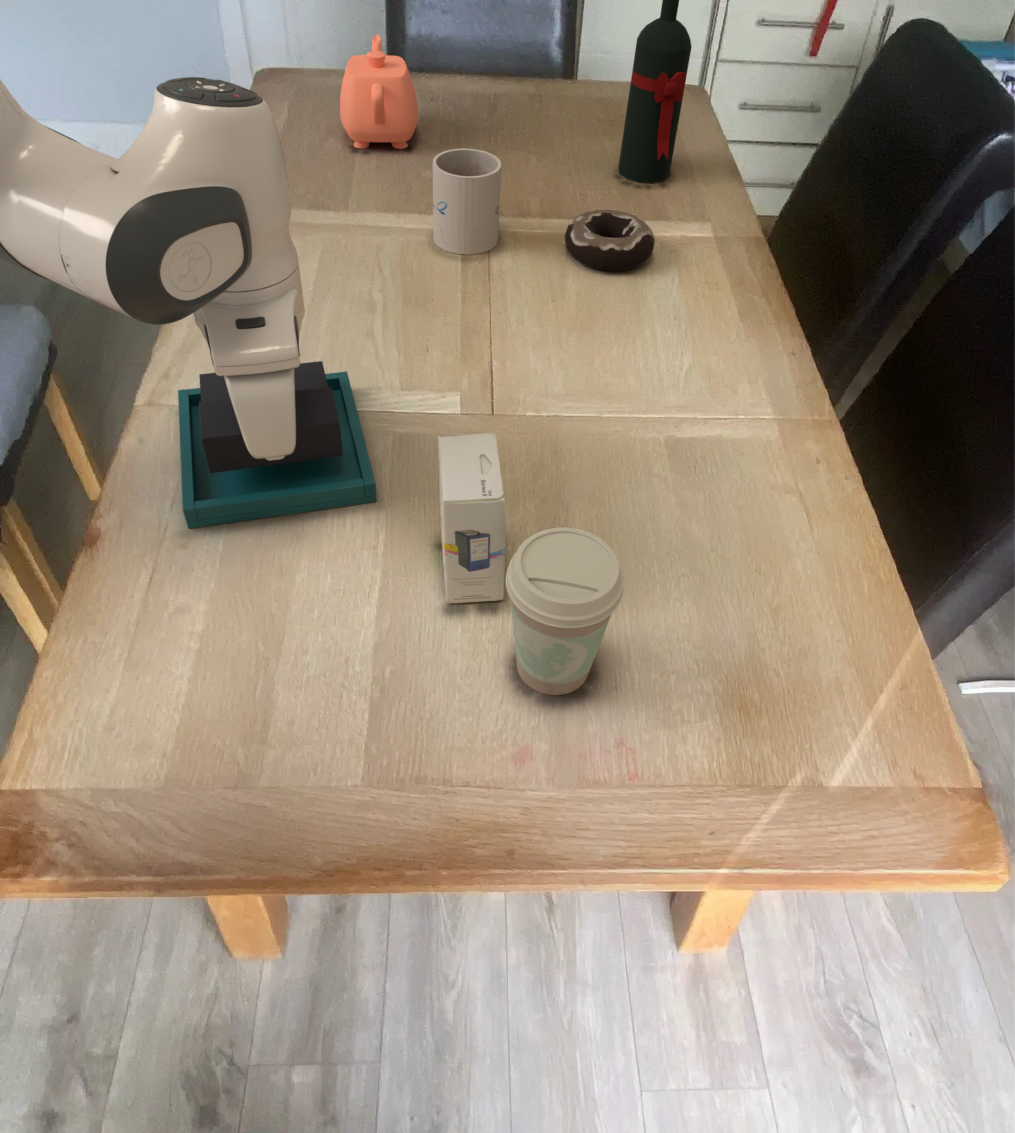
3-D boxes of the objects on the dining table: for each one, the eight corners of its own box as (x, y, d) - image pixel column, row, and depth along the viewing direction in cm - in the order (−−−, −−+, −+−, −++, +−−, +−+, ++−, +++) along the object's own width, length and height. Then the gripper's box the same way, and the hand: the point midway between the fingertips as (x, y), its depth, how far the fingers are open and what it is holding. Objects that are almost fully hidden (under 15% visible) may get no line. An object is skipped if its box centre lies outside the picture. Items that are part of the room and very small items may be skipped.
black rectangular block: (209, 440, 88) (201, 407, 85) (207, 407, 92) (199, 374, 89) (333, 425, 91) (329, 392, 88) (325, 393, 94) (322, 360, 91)
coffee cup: (477, 666, 72) (481, 563, 63) (547, 608, 77) (560, 505, 68) (558, 730, 68) (574, 630, 60) (627, 666, 73) (651, 564, 64)
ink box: (503, 602, 77) (511, 500, 68) (442, 605, 76) (442, 502, 68) (493, 531, 83) (499, 429, 74) (437, 534, 82) (436, 430, 73)
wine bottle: (632, 191, 132) (669, -50, 111) (610, 162, 139) (641, -71, 117) (682, 188, 134) (728, -51, 112) (658, 159, 141) (697, -71, 119)
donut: (621, 286, 114) (626, 257, 111) (545, 255, 118) (548, 226, 115) (668, 253, 120) (673, 224, 117) (594, 224, 125) (598, 196, 122)
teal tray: (188, 529, 81) (182, 510, 79) (182, 408, 93) (177, 389, 91) (376, 501, 85) (375, 483, 83) (348, 389, 96) (347, 371, 95)
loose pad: (209, 473, 81) (201, 438, 78) (207, 436, 85) (198, 401, 82) (343, 456, 84) (339, 421, 81) (335, 420, 88) (331, 386, 85)
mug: (496, 256, 117) (500, 179, 110) (430, 252, 117) (429, 175, 110) (499, 213, 126) (503, 139, 118) (437, 209, 126) (437, 135, 118)
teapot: (421, 162, 136) (419, 76, 127) (341, 162, 134) (333, 75, 125) (415, 111, 149) (414, 29, 140) (343, 110, 148) (336, 28, 139)
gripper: (201, 238, 79) (229, 370, 89) (213, 372, 66) (244, 510, 76) (275, 232, 80) (294, 363, 91) (300, 362, 67) (319, 499, 77)
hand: (271, 431), depth 83 cm, fingers closed on loose pad, 5 cm apart
